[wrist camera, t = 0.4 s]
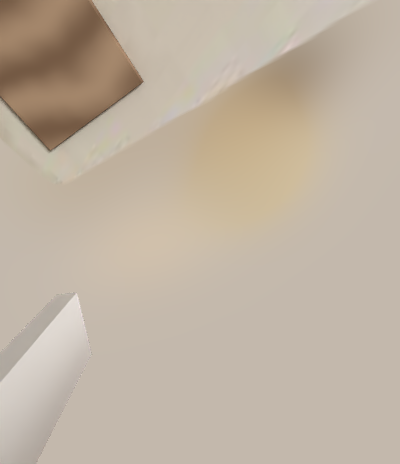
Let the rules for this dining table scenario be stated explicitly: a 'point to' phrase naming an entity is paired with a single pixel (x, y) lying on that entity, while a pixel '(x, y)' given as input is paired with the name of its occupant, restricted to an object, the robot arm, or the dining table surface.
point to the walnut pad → (60, 65)
